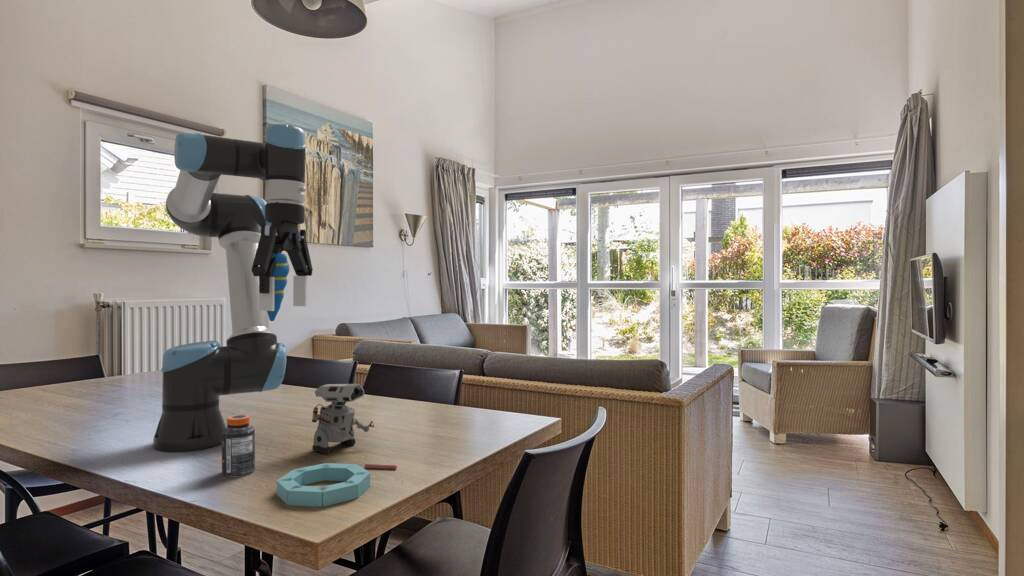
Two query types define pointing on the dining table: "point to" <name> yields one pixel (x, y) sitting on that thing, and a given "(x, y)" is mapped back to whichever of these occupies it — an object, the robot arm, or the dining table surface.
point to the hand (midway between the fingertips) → (284, 308)
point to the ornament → (279, 282)
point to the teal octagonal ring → (318, 496)
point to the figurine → (336, 416)
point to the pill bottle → (238, 447)
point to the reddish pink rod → (380, 466)
